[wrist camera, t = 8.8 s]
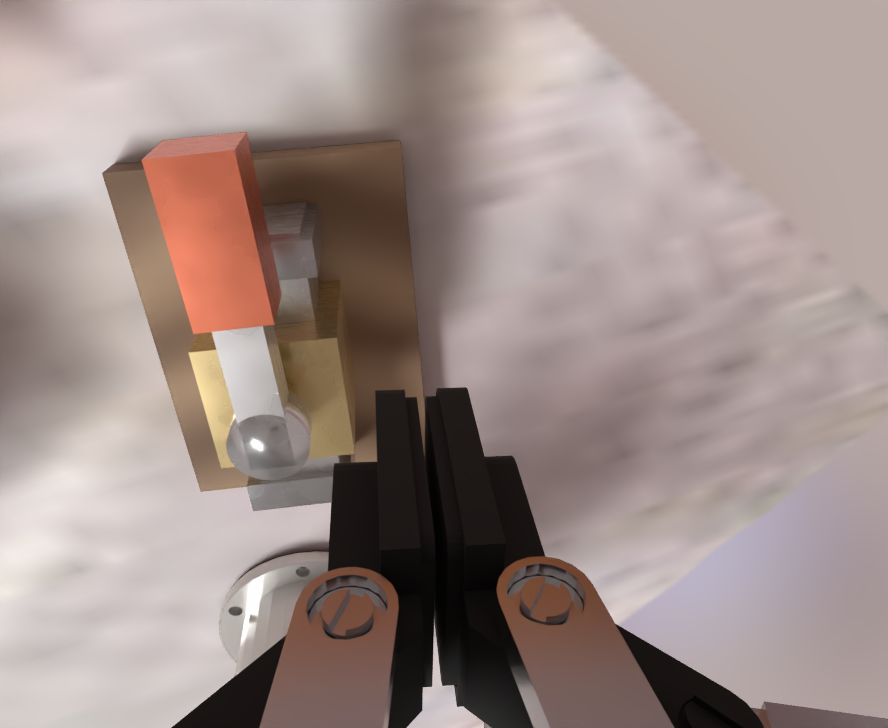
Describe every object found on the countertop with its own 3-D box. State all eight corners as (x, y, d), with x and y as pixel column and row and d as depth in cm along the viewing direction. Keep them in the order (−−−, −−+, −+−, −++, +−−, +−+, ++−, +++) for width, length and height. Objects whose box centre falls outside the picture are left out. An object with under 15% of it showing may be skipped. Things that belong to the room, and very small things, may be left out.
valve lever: (319, 442, 30) (315, 481, 28) (244, 451, 30) (235, 491, 28) (252, 131, 23) (240, 149, 21) (156, 141, 23) (134, 160, 21)
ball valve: (364, 441, 39) (365, 534, 33) (257, 453, 39) (236, 549, 32) (329, 197, 32) (320, 255, 26) (196, 208, 32) (155, 270, 25)
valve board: (427, 450, 41) (429, 466, 40) (205, 474, 40) (200, 491, 39) (399, 140, 32) (401, 147, 31) (112, 164, 31) (102, 173, 30)
